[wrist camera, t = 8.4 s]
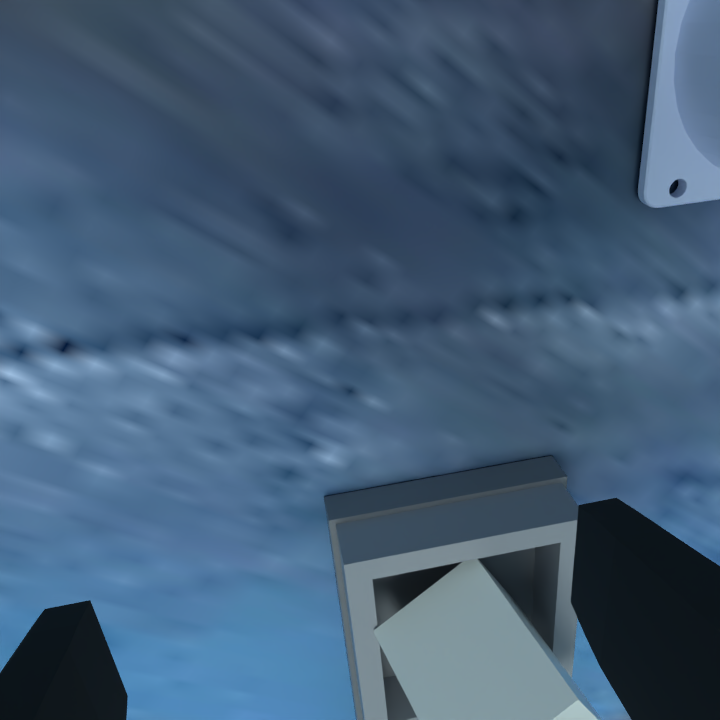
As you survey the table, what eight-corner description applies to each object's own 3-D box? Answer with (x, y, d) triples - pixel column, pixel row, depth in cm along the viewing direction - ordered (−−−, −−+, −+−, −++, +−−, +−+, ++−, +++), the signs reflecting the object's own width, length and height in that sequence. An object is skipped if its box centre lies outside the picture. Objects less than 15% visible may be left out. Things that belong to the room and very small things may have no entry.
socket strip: (551, 455, 23) (593, 511, 20) (532, 776, 32) (560, 844, 29) (324, 496, 22) (336, 561, 19) (370, 814, 31) (382, 888, 28)
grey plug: (473, 553, 21) (599, 728, 16) (517, 604, 24) (631, 760, 20) (373, 630, 21) (473, 826, 16) (431, 670, 24) (527, 840, 20)
